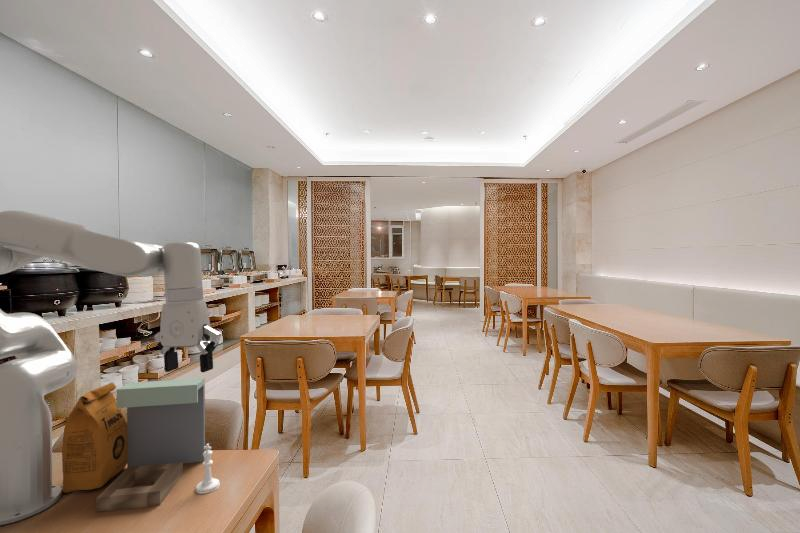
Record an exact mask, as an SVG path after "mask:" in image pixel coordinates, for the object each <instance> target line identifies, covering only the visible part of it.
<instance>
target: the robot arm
mask: <svg viewBox="0 0 800 533" xmlns="http://www.w3.org/2000/svg"><path fill="white" fill-rule="evenodd" d="M41 258H49V259H53V260H57V261H62V262H67V263H69V264H71V265H74V266H79V267H81V268H85V269H89V270H92V271H97V272H103V273H106V274H111V275H115V276H121V277H125V278H126V277H129V278H132V277H133V278H135V277H137V278H138V277H155V276H156V277H157V276H162V275H163V282H164V293H163V297H164V298H165V299H164V300H165V303H163V304H162V307H161V312H160V313H161V314H160V331H158V332H157V333H156V334H154V340H155V341H156V343H157V348H159V350H160V354H161V355H163V363H164V364H163V365H164V372H165V373H169V372H172V371H174V370H178V369H179V358H178V357H179V356H178V355H179V354H178V351H177V348H194V347H197V349H198V350H199V351H200V353H201V354H199V369H200V370H199V371H200V372H201V373H206V372H208V371H211V370H213V369H214V359H213V352H215V351H216V348H217V347H218V346H219V342H220V339H221V337H222V333H221V332H220V331H218V330H216V329H214V328H212V327H211V320H210V315H209V310H208V307H207V303H206V301H205V300H204V286H203V273H202V272H203V271H202V270H203V268H202V252H201V247H200V245H199V244H198V243H196V242H191V241H190V242H189V241H175V242H168V243H165V244H155V243H148V242H147V243H146V242H141V241H134V240H133V241H132V240H128V239H123V238H120V237H115V236H110V235H108V234H107V235H105V234H101V233H98V232H95V231H91V230H90V228H88V227H87V226H85V225H82V224H79V223H73V222H69V221H66V220H65V221H64V220H60V219H56V218H54V217H52V216H49V215H44V214H38V213H33V212H28V211H22V210H3V211H0V275H5V274H8V273H12V272H14V271H16V270H18V269H20V268H23V267H25V266H26V265H29V264H31V263H33V262H36V261H37V260H40V259H41ZM9 357H15V359H12V360H8V361H5V362H3V363H1V364H0V526H4V525H8V524H13V523H16V522H18V521H22V520H25V519H27V518H30V517H33V516H34V515H37V514H39V513H41V512H43V511H45V510H46V509H48V508H49V507H51V506H53V505H54V504H55V503H56V502H57V501H59V499H60V498H61V497H62V494H63V487H61V486H59V485H57V484H53V420H52V419H53V418H52V412H51V410H50V407H49V406H48V404H47V402H46V400H45V396H46V395H47V394H48V395H49V394H50V393H52V392H54V391H56V390H59V389H61V388H63V387H65V386H67V385H69V384H70V383H71V382H72V381H73V380H74V379H75V377H76V375H77V373H78V363H77V360H76V357H75V356H74V354H73V353H72V351H71V350H70V349H69V347H68V346H67V344H66V343H65V342H64V340H63V339H62V338H61V337H60V335H59V334H58V333H57V331H56V330H55V329H54V327H53V326H52V324H51V323H50V322H49V321H47V320H46V319H45V318H43V317H42V316H40V315H39V314H36V313H32V312H22V311H21V312H13V313H6V312H5V311H3V310H2V309H1V308H0V360H2V359H3V360H4V359H6V358H9Z"/></svg>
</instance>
